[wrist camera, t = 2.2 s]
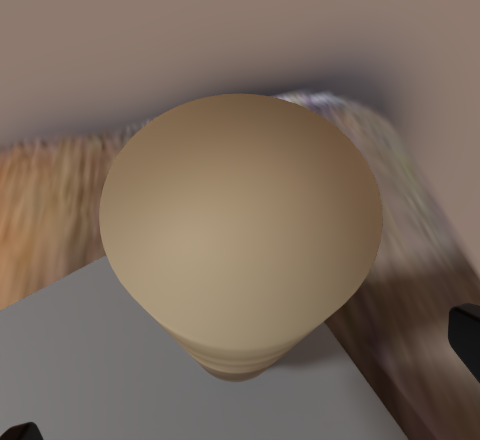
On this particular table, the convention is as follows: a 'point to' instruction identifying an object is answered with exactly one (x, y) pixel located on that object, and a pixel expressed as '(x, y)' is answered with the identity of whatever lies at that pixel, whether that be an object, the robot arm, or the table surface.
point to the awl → (240, 226)
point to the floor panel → (165, 376)
